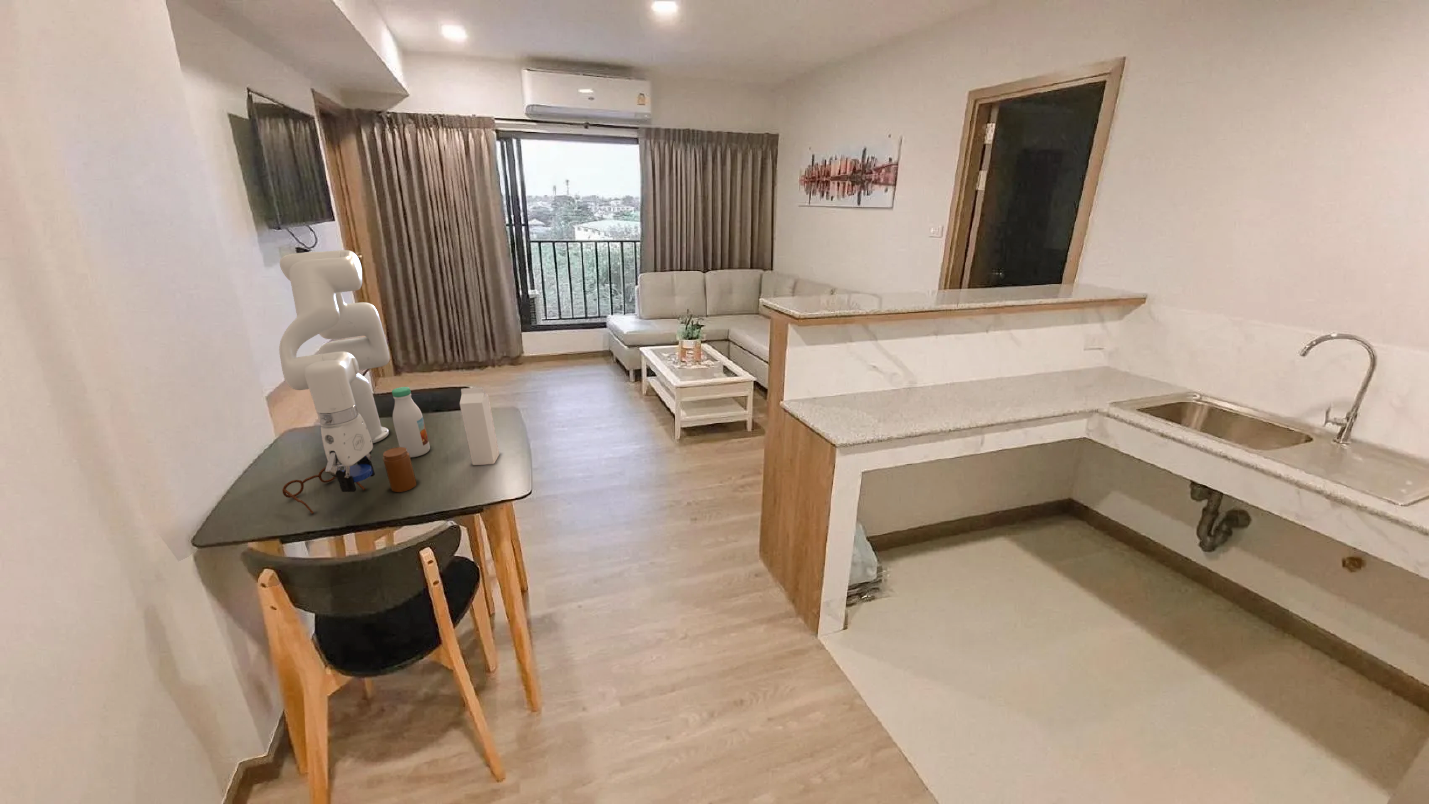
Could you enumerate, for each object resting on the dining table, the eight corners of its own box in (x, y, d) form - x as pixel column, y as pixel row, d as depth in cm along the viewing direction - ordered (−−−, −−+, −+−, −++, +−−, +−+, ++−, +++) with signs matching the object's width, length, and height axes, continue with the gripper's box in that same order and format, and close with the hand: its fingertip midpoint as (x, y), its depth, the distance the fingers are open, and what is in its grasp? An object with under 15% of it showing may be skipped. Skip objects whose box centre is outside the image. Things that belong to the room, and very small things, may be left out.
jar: (387, 487, 146) (377, 453, 142) (409, 478, 150) (400, 444, 146) (398, 494, 142) (388, 459, 139) (421, 484, 147) (412, 450, 143)
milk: (478, 455, 162) (464, 384, 154) (500, 454, 162) (486, 383, 154) (472, 465, 156) (456, 392, 148) (494, 464, 157) (480, 391, 148)
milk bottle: (418, 459, 160) (402, 394, 153) (395, 457, 162) (378, 393, 154) (436, 447, 167) (421, 385, 160) (413, 445, 169) (398, 383, 161)
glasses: (339, 478, 151) (333, 462, 149) (366, 490, 145) (361, 473, 143) (285, 501, 140) (278, 484, 139) (311, 515, 134) (305, 497, 132)
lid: (362, 483, 129) (360, 477, 128) (333, 483, 129) (332, 477, 129) (378, 469, 135) (377, 463, 135) (351, 469, 135) (350, 463, 135)
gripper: (329, 430, 118) (351, 502, 125) (376, 400, 134) (394, 465, 141) (294, 431, 118) (319, 503, 125) (346, 401, 134) (365, 466, 141)
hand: (358, 482), depth 133 cm, fingers closed on lid, 6 cm apart
